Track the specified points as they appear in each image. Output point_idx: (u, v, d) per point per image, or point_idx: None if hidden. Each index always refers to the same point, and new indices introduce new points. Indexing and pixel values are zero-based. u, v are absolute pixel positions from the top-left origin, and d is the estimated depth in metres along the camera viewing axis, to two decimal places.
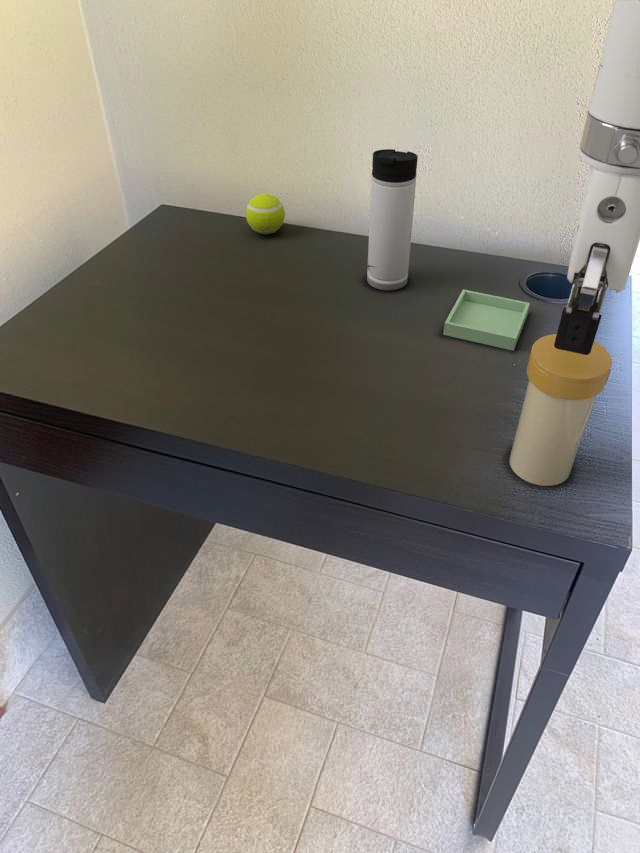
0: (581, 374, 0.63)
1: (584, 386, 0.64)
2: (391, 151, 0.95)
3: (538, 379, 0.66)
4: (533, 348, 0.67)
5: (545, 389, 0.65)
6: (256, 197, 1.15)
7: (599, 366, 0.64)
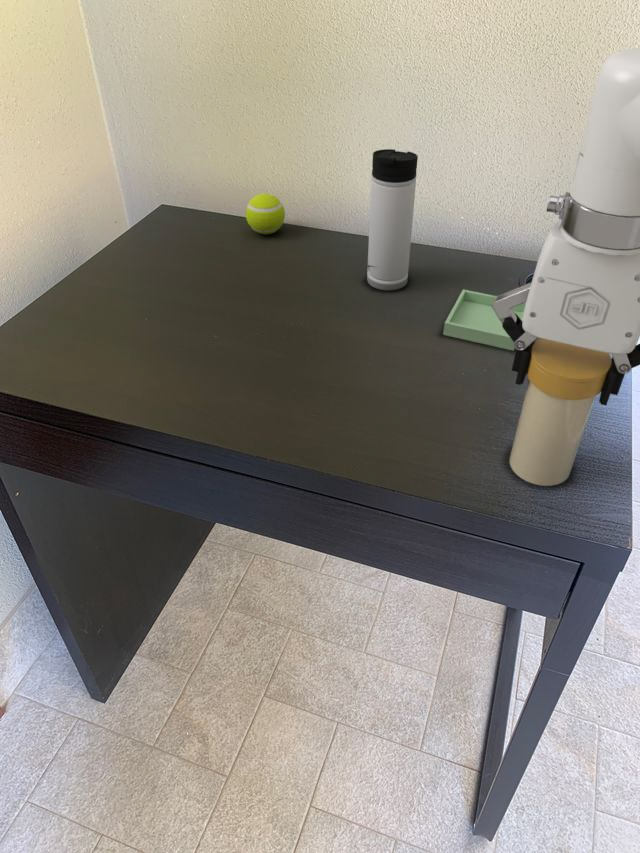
0: (581, 374, 0.63)
1: (584, 386, 0.64)
2: (391, 151, 0.95)
3: (538, 379, 0.66)
4: (533, 348, 0.67)
5: (545, 389, 0.65)
6: (256, 197, 1.15)
7: (599, 366, 0.64)
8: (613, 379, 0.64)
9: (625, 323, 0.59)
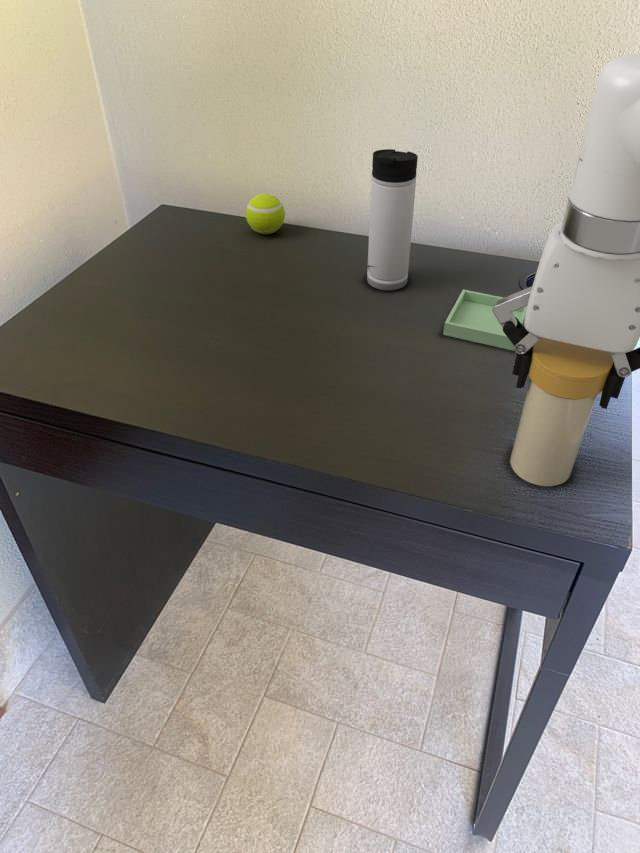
0: None
1: None
2: (391, 151, 0.95)
3: None
4: (611, 364, 0.64)
5: None
6: (256, 197, 1.15)
7: (548, 341, 0.67)
8: None
9: None
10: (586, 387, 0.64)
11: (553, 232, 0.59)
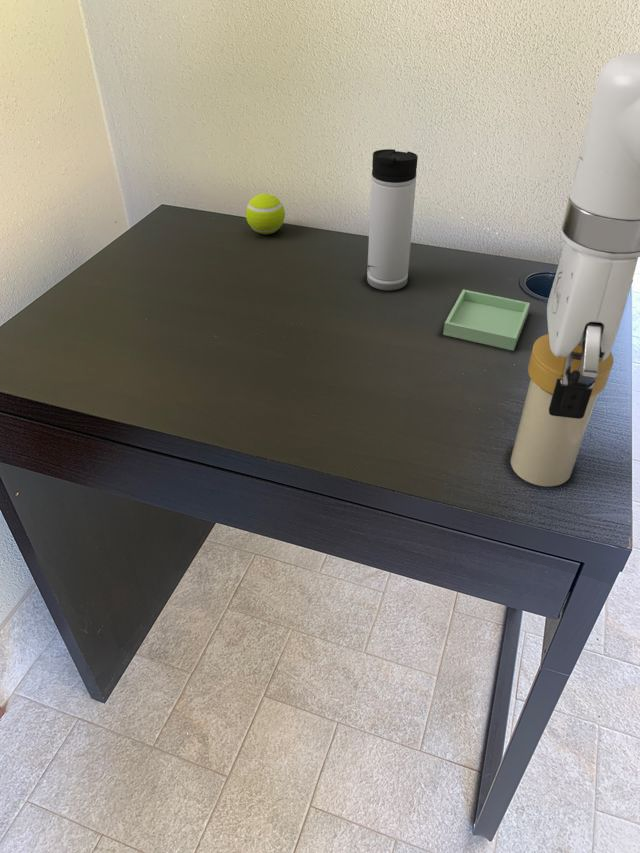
0: (541, 354, 0.66)
1: (533, 364, 0.66)
2: (391, 151, 0.95)
3: None
4: None
5: None
6: (256, 197, 1.15)
7: (560, 366, 0.64)
8: (555, 386, 0.64)
9: (559, 320, 0.60)
10: None
11: (615, 262, 0.55)
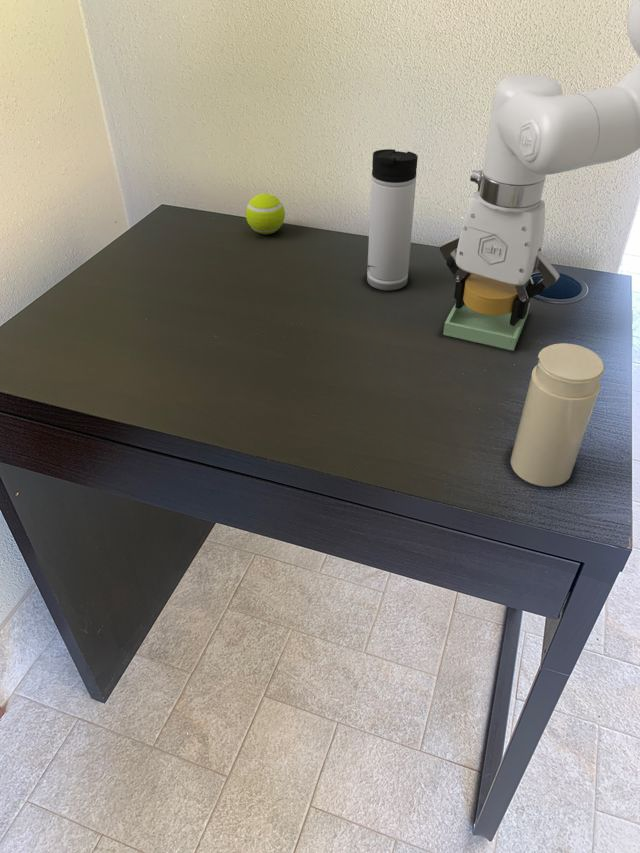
0: (490, 295, 0.90)
1: (490, 304, 0.90)
2: (391, 151, 0.95)
3: (465, 297, 0.93)
4: (470, 276, 0.94)
5: (467, 304, 0.93)
6: (256, 197, 1.15)
7: (507, 293, 0.91)
8: (516, 305, 0.90)
9: (518, 262, 0.86)
10: None
11: (543, 206, 0.83)
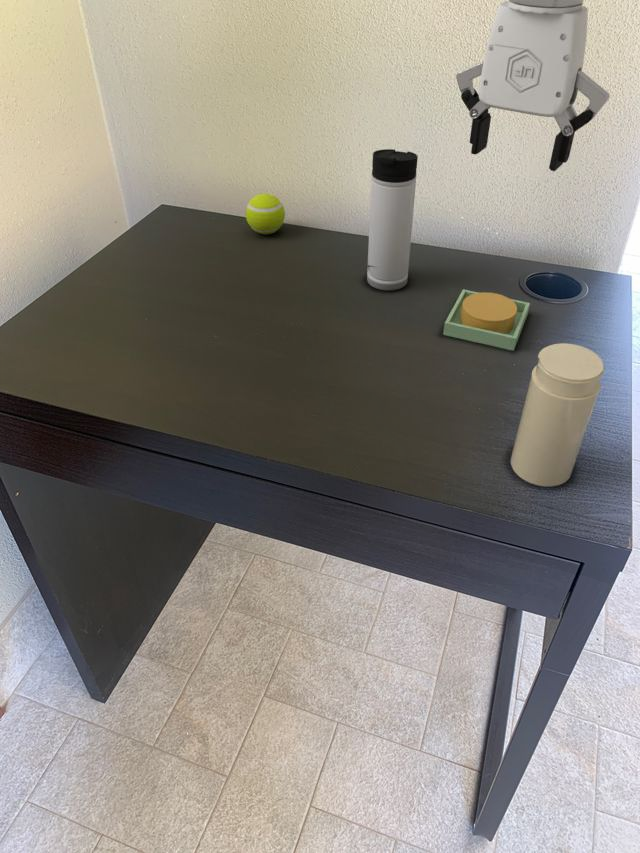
0: (486, 317, 0.92)
1: (487, 326, 0.93)
2: (391, 151, 0.95)
3: (462, 318, 0.95)
4: (466, 297, 0.96)
5: None
6: (256, 197, 1.15)
7: (503, 315, 0.93)
8: (559, 142, 0.76)
9: (555, 83, 0.72)
10: None
11: (586, 10, 0.69)
